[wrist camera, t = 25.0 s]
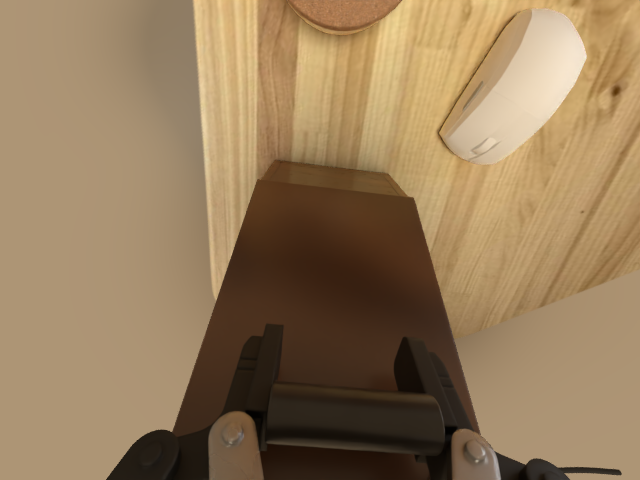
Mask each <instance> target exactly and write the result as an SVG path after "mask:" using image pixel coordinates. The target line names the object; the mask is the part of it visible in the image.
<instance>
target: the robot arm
mask: <svg viewBox="0 0 640 480" xmlns="http://www.w3.org/2000/svg"><path fill="white" fill-rule="evenodd" d="M283 328H284V325H278V324H267V323H266V326H265V330H264V334H263V336H251V337H250V338H249V339H248V340H247V341H246V343H245V344H244V345H243V348H242V351H241V354H240V358H239V361H238V364H237V368H236V370H235V374H234V377H233V380H232V383H231V387H230V390H229V393H228V396H227V399H226V403H225V406H224V409H223V411H222V413H221V414H220V416H219V417H218V418H217V419H216V421H215V422H213V423H212V424H211V425H210V426H208V427H207V428H205V429H203V430H200V431H197V432H194V433H190V434H186V435H182V436H179V437H176V436H175V434H173V433H172V432H170V431H167V430H156V431H152V432H150V433H147V434H146V435H144V436H142V437H141V438H140V439H139V440H137V441H136V442H135V443H134V444H133V445H132V446H131V447H130V449H129V450H128V451H127V453H126V454H125V455H124V457H123V458H122V459H121V461H120V462H119V464H118V465H117V466H116V467H115V468H114V470H113V471H112V472H111V474H110V475H109V476H108V478H107V479H106V480H264V476H263V470H262V464H261V457H260V451H267V446H268V444H267V443H265V428H266V420H267V412H268V405H269V399H270V393H271V388H272V384H273V382H274V381H278V375H279V368H280V361H281V353H282V341H283ZM394 376H395V380H396V384H397V388H398V391H404V392H415V393H427V394H430V395H432V396H433V397H434V398H435V399H436V400H437V402H438V404H439V406H440V409H441V412H442V416H443V421H444V427H445V442H444V447H443V450H442V452H441V454H440V455H438V456H426V455H414V456H415V460H416V463H427V466H428V470H429V475H428V477H427V480H570V479H569V478H568V477H567V476H566V475H565V474H564V473H598V474H611V475H621V472H620V471H619V470H616V469H603V468H587V467H565V468H557V467H556V466H554V465H553V464H551V463H550V462H548V461H545V460H542V459H532V460H530V461H529V462H528V463H527V464H526V465H525V464H522V463H520V462H518V461H515V460H513V459H510V458H508V457H505V456H503V455H501V454H499V453H497V452H495V451H494V450H493V449H492V447H491V445H490V444H489V443H488V442H487V441H486V440H485V439H484V438H483V437H482V436H480V435H479V434H477V433H476V432H475V431H474V429H473V427H472V425H471V423H470V421H469V418H468V416H467V414H466V412H465V409H464V407H463V405H462V403H461V400H460V398H459V396H458V394H457V391H456V389H455V388H454V385H453V382H452V380H451V378H450V377H449V373H448V371H447V369H446V367H445V364H444V363H443V362H442V360H441V359H440V358H439V357H438V356H437V355H436V354H435V352H428V350H427V347H426V345H425V342H424V340H423V339H422V338H414V337H403V338H402V340H401V343H400V346H399V349H398V352H397V354H396V357H395V360H394Z"/></svg>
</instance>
